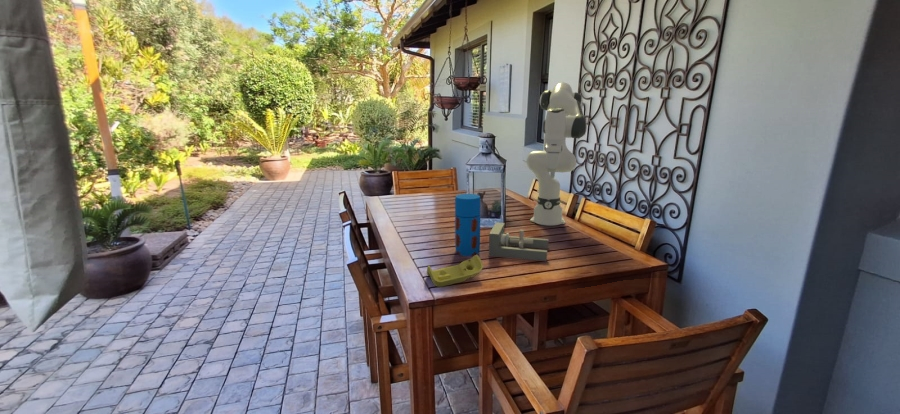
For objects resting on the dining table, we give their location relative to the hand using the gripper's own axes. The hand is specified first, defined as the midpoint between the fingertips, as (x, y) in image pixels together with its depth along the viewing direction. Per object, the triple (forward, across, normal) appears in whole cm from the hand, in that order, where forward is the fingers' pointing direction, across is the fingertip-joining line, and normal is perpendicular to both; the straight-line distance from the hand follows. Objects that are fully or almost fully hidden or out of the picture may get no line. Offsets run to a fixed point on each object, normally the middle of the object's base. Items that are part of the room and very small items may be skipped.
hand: (552, 177), depth 177 cm
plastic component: (+32, +49, -32) cm, 66 cm away
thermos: (+31, +20, -34) cm, 50 cm away
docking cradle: (+31, +14, -12) cm, 36 cm away
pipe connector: (+31, +14, -11) cm, 36 cm away
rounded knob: (+29, +14, -20) cm, 38 cm away
